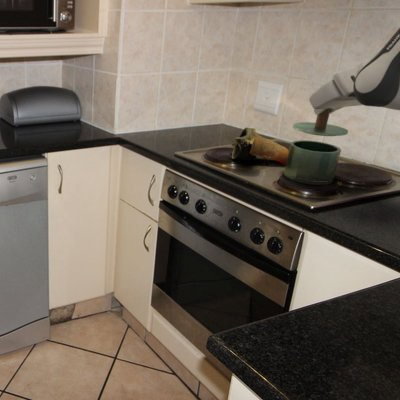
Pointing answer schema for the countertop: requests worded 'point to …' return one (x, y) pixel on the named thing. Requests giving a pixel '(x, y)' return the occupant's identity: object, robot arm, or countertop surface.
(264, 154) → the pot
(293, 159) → the tin
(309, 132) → the tin lid
